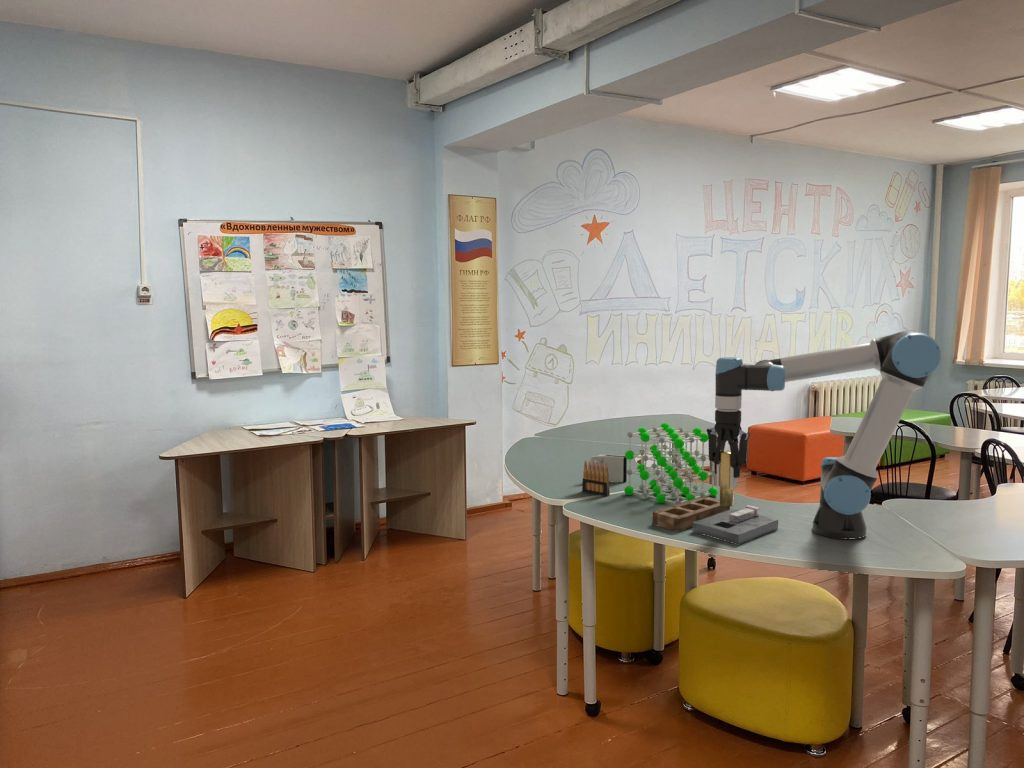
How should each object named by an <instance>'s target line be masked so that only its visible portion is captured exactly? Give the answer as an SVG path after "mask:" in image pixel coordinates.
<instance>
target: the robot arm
mask: <svg viewBox="0 0 1024 768" xmlns="http://www.w3.org/2000/svg"><path fill="white" fill-rule="evenodd" d="M941 359H942V353H941V348H940V346H939V344H938V342H937V341H936V340H935V339H934V338H932V336H931V335H928V334H926V333H924V332H920V331H915V330H902V331H900V332H895V333H892V334H889V335H885V336H881V337H877V338H876V337H875V338H872V339H871V340H870V342H867V343H862V344H861V343H860V344H855V345H849V346H843V347H838V348H832V349H826V350H821V351H815V352H814V351H813V352H808V353H804V354H803V353H802V354H798V355H797V354H796V355H791V356H786V357H780V358H773V359H769V360H768V359H762V360H759V361H757V362H756V363H755V364H745V363H744V362H743V359H742V358H741V357H733V356H730V357H729V356H728V357H727V356H724V357H719V358H718V359H717V360H716V363H715V394H714V395H715V396H714V399H715V400H714V408H715V410H714V422H715V424H714V426H713V427H710V428H706V432H707V434H708V441H707V442H708V455H709V458H708V460H709V461H710V462H712V461H713V462H714V471H715V474H716V487H720V452H722V451H725V447H726V443H728V445H729V449H730V450H729V451H731V457H732V463H733V466H732V467H730V489H734V490H735V489H737V488H738V479H739V478H740V475H741V467H742V466H745V465H747V459H748V457H747V456H748V441H749V439H750V436H751V434H750V432H745V431H744V430H743V429H742V426H741V423H742V410H741V409H742V393H743V391H762V392H765V391H767V392H775V391H776V392H782V391H784V390H785V387H786V383H788V382H795V381H800V380H801V381H802V380H807V379H815V378H819V377H826V376H832V375H840V374H846V373H851V372H859V371H865V370H871V369H875V370H876V371H878V372H879V373H880V375H881V381H880V383H879V385H878V387H877V388H876V391H875V393H874V395H873V396H872V399H871V401H870V403H869V405H868V407H867V410H865V413H864V415H863V418H862V420H861V422H860V424H859V426H858V427H857V429H856V431H855V434H854V436H853V438H852V440H851V442H850V444H849V447H848V448H847V450H846V452H845V454H844V455H841V456H839V457H838V456H828V457H827V456H825V457H823V458H822V460H821V465H820V468H821V469H820V472H821V473H820V489H819V490H820V492H819V505H818V509H817V511H816V514H815V515H814V519H813V521H812V528H811V529H812V531H813V532H814V533H815V534H818V535H820V536H823V537H827V538H830V537H832V538H831V539H836V538H847V539H846V540H850V539H849V538H859V537H863V536H865V535H866V536H867V525H866V521H865V518H864V515H863V511H864V510H866V508H867V507H868V505H869V503H870V501H871V498H872V496H871V495H872V493H871V491H872V490H873V489H874V486H875V484H876V482H877V479H878V477H879V475H878V472H877V467H878V465H879V463H880V460H881V458H882V456H883V454H884V452H885V451H886V448H887V447H888V444H889V442H890V440H891V438H892V436H893V434H894V432H895V431H896V428H897V427H898V425H899V422H900V420H901V418H902V416H903V414H904V412H905V410H906V409H907V406H908V404H909V402H910V401H911V398H912V397H913V396H914V395H913V394H914V392H916V391H917V390H920V389H923V388H924V387H925V384H926V382H927V380H928V378H929V376H930V375H931V374H932V373H934V371H936V370H937V368H938V367H939V365H940V362H941ZM716 433H717V437H716ZM738 437H739V438H738ZM866 536H865V537H866Z"/></svg>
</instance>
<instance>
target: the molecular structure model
mask: <svg viewBox="0 0 1024 768" xmlns="http://www.w3.org/2000/svg"><path fill="white" fill-rule="evenodd" d="M661 432H662V433H661ZM627 436H628V450H627V451H625V453H624V456H625V457H626V459H627V461H628V469H627V476H628V485H627V486H625V487H624V490H623V491H624V493H625V495H627V496H632V495H633V494H636V495H640V496H642V497H643V498H652V499H655V500H656V502H657V503H658V504H664V503H665V502H667V503H672V504H675V505H677V504H680V503H684V502H687V501H690V500H693V499H697V498H700V497H703V496H706V497H707V496H708V495H709V496H710V497H711V498H714V497H716V496H718V493H719V491H718V489H717V488H716V487H715V486H714V485H715V480H714V479H715V478H714V477H715V476H717V474H715V463H714V462H713V461H711V463H712V466H711V470H710V471H707V470H705V461H706V460H709V454H706V453H705V443H707V442H708V434H707V433H706V432H703V430H702V429H701V428H700V427H695V428H693V430H687V429H685V428H684V427H681V426H680V427H678V428H675V427H670V424H669V423H668V422H662V423H661V425H660V427H656V426H653V427H652V428H651V429H649V430H647V428H646V427H643V426H641V427H639V428H638V430H637V432H634V433H633V432H632V431H628V432H627ZM632 437H633V438H635V437H636V438H640V440H641V442H640V443H641V445H640V446H641V449H640V450H639V452H634V451H633V450H631V442H632V441H631V438H632ZM716 438H718V434H717V433H716ZM650 440H652V441H653V445H651V446H650V447H649V449H647V446H648V445H647V443H648V442H649V441H650ZM699 441H700V442H701V443H702V449H701V452H702V453H701V452H700V451H699V450H698V449H699V446H698V445H699V443H698V442H699ZM667 443H668V444H669V445H667ZM688 443H689V444H690V445H689V451H688ZM693 443H695V450H694V451H693ZM672 445H673V447H672ZM659 446H660V447H659ZM667 450H668V451H667ZM639 455H640V456H639ZM648 455H650V456H648ZM693 455H694V456H693ZM699 456H700V457H699ZM634 458H638V459H640V462H641V463H640V464H638V465H637V467H636V469H635V470H634V469H633V470H632V469H631V460H633V459H634ZM647 461H651V462H653V463H652V464H651V465H650V466H647ZM671 461H672V462H671ZM700 461H701V466H700V465H699V464H698V462H700ZM652 469H653V470H652ZM676 469H677V470H676ZM682 469H684V470H683V471H682ZM692 473H693V474H692ZM633 474H634V475H638V476H639V477H640V480H641V481H640V484H639V486H638V487H637V488H634V487H633V486H631V475H633ZM663 475H664V476H663ZM709 476H711V487H709V488H708V490H705V489H704V481H707V479H708V477H709ZM649 478H652V479H650V480H649V482H648V485H647V480H648V479H649ZM698 479H699V480H700V481H701V488H700V487H699V485H698V481H699V480H698ZM694 480H695V485H694V486H693V487H692V483H693V482H694ZM687 482H688V483H689V485H687V484H688V483H687ZM663 484H664V485H663ZM665 484H668V485H667V486H665ZM639 490H641V491H643V492H638V491H639ZM647 491H650V492H647ZM664 491H671V492H670V493H669V492H668V493H667V492H664ZM692 491H701V492H699V493H695V492H692ZM656 495H657V496H656ZM666 495H667V496H666ZM680 495H682V496H680ZM683 495H684V497H683ZM668 498H669V499H668ZM670 498H676V499H675V500H670ZM680 499H682V501H681V500H680Z"/></svg>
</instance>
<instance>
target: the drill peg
mask: <svg viewBox="0 0 1024 768" xmlns="http://www.w3.org/2000/svg"><path fill="white" fill-rule="evenodd" d="M732 466H733V463H732V457H731V451H730V450H726V451H725V450H724V451H722V452H720V486H719V500H720V505H721V506H727V507H729V506H730V507H733V506H734V500H735V499H734V493H735V492H734V490H735V488H734V489H730V467H732Z"/></svg>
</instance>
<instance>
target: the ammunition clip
mask: <svg viewBox="0 0 1024 768" xmlns="http://www.w3.org/2000/svg"><path fill="white" fill-rule="evenodd" d="M587 462H588V463H587ZM596 462H597V461H595V462H594V461H593V464H592V470H591V460H589V461H587V460H586V459H585V460H584V463H583V472H582V474H583V476H582V483H581V485H582V487H581V492H582V493H586V494H591V495H596V496H602V497H609V496H610V493H611V491H610V482H609V475H608V465H607V463H606V465H605V473H604V466H603V463H601V470H600V467H599V462H597V466H596V469H595V463H596Z"/></svg>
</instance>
